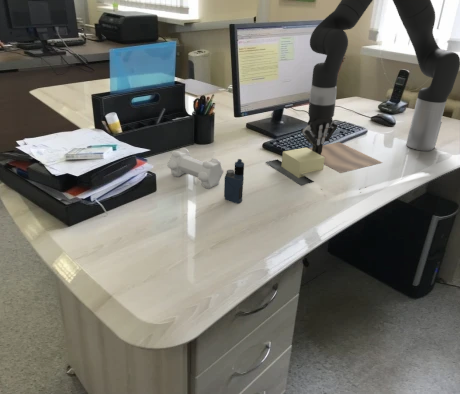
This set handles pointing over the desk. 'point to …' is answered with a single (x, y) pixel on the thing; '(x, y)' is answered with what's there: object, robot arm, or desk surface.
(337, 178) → the desk surface
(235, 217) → the desk surface
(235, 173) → the vaping device
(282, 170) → the mat
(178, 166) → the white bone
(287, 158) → the memo block
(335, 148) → the brown cloth
